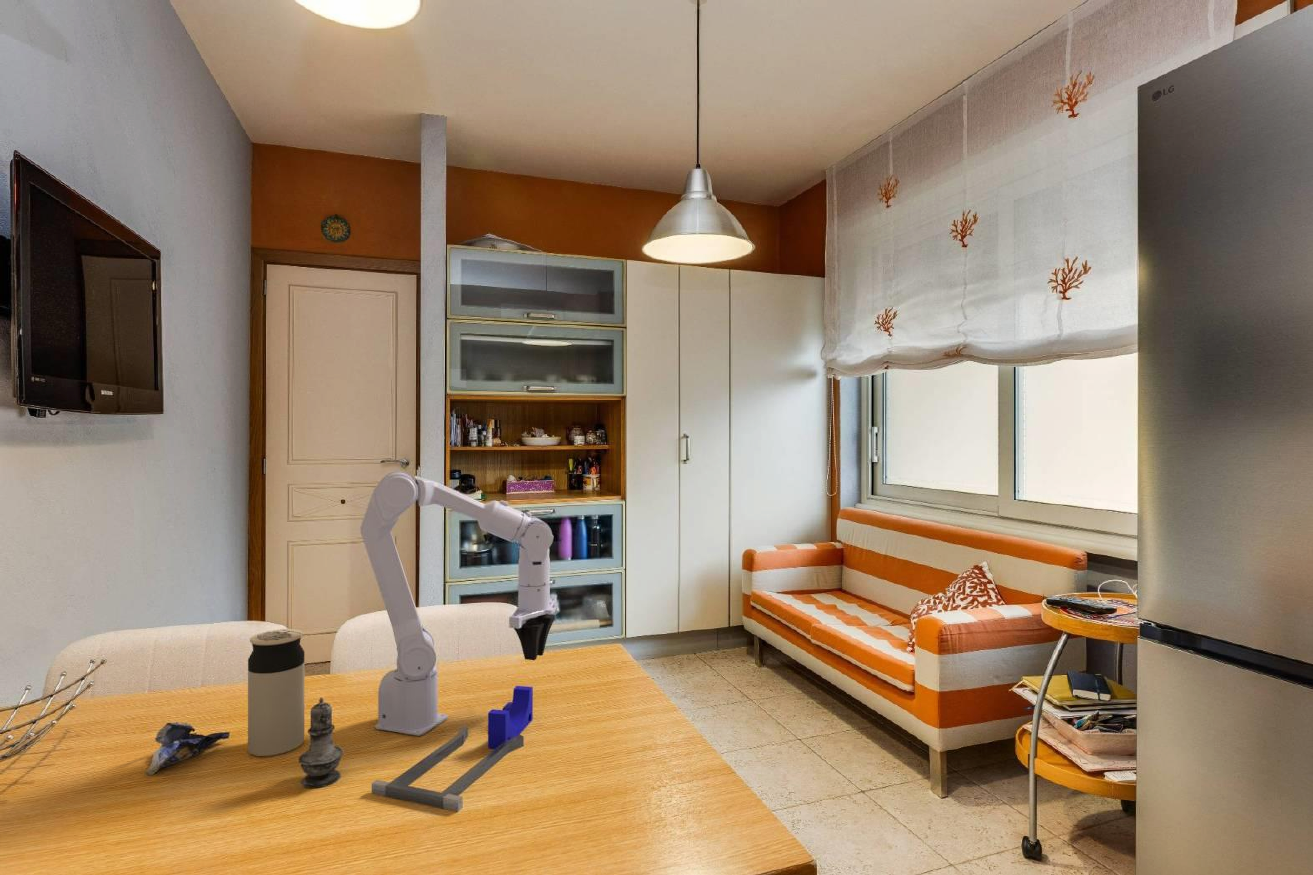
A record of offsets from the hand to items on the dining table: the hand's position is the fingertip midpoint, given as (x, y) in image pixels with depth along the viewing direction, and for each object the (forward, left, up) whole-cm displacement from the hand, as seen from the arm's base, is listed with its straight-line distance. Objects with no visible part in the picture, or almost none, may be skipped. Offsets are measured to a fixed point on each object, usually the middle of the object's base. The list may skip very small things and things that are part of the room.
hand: (534, 656), depth 125 cm
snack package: (-43, -34, -10) cm, 56 cm away
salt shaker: (-17, -33, -10) cm, 38 cm away
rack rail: (0, -24, -9) cm, 26 cm away
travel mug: (-32, -27, -10) cm, 43 cm away
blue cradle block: (+1, -11, -10) cm, 15 cm away
